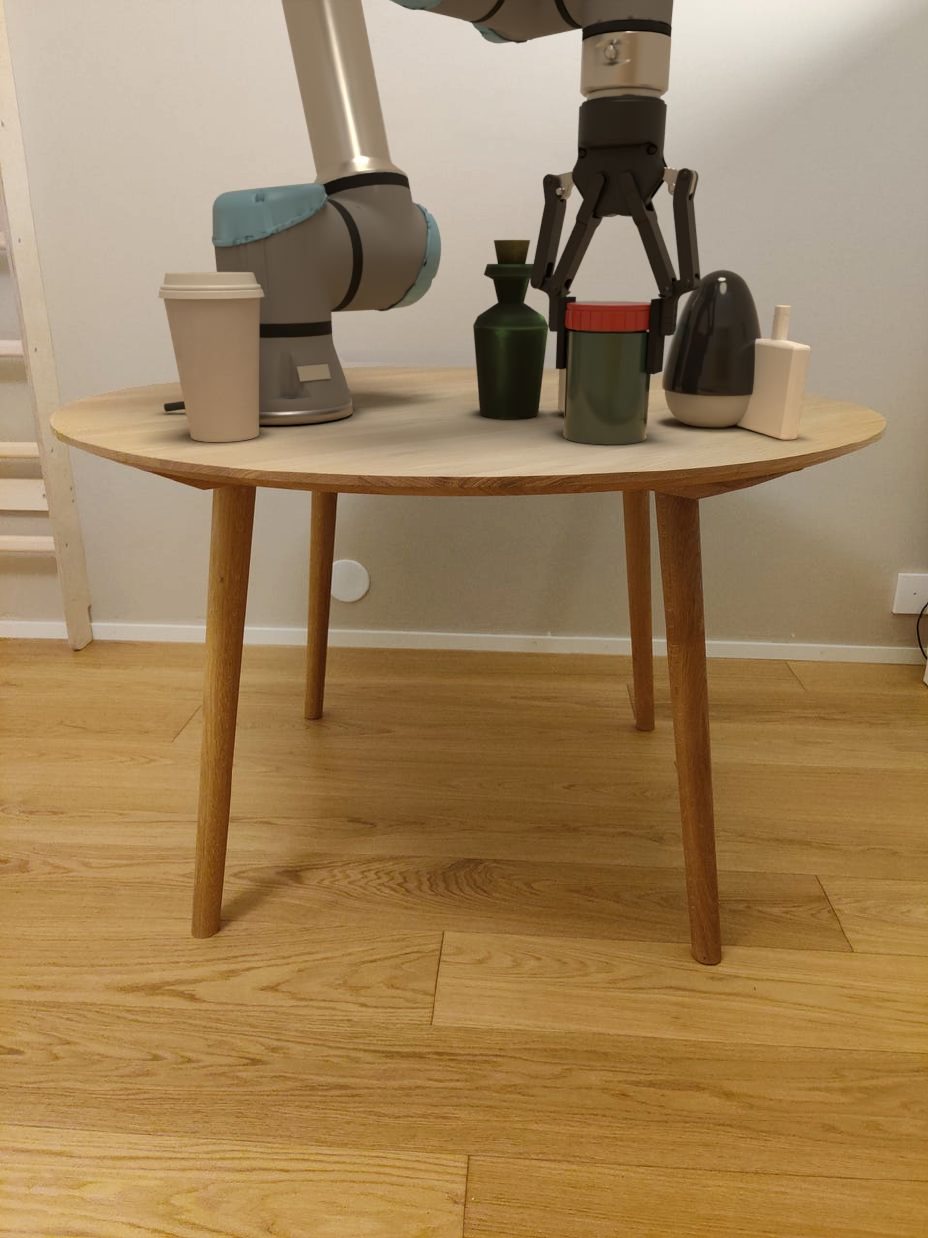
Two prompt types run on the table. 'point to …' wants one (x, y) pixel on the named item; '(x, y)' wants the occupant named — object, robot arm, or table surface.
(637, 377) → the jar
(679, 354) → the black and white egg
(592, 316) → the lid
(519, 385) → the potion bottle
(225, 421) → the coffee cup
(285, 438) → the table surface
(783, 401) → the perfume bottle
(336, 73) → the robot arm
